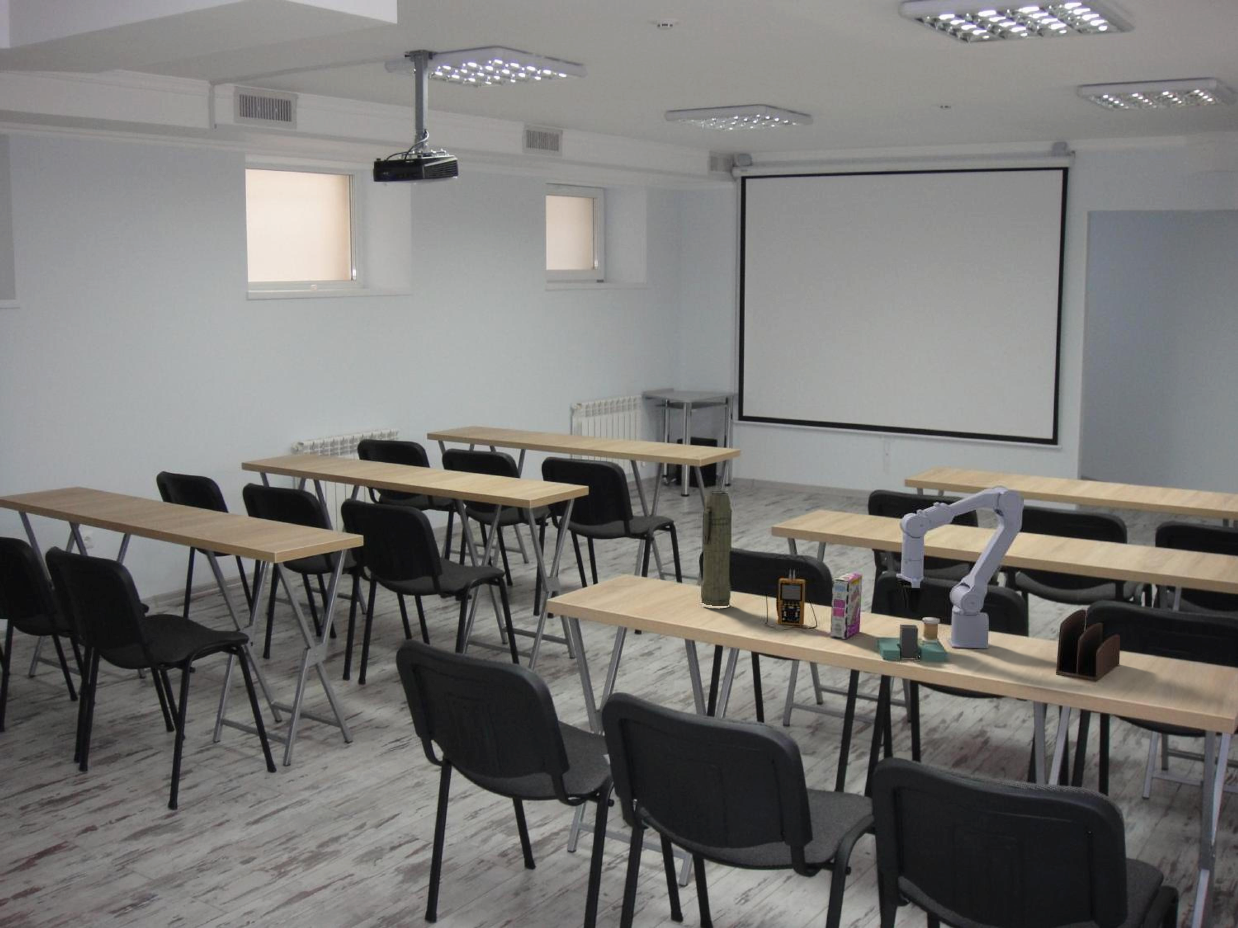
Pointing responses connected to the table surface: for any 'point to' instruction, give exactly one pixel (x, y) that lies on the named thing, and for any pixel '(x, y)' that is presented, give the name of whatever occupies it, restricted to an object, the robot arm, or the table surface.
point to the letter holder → (1085, 649)
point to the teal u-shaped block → (926, 647)
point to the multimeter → (790, 600)
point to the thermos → (716, 549)
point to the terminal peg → (908, 641)
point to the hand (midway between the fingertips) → (910, 608)
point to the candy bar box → (846, 605)
